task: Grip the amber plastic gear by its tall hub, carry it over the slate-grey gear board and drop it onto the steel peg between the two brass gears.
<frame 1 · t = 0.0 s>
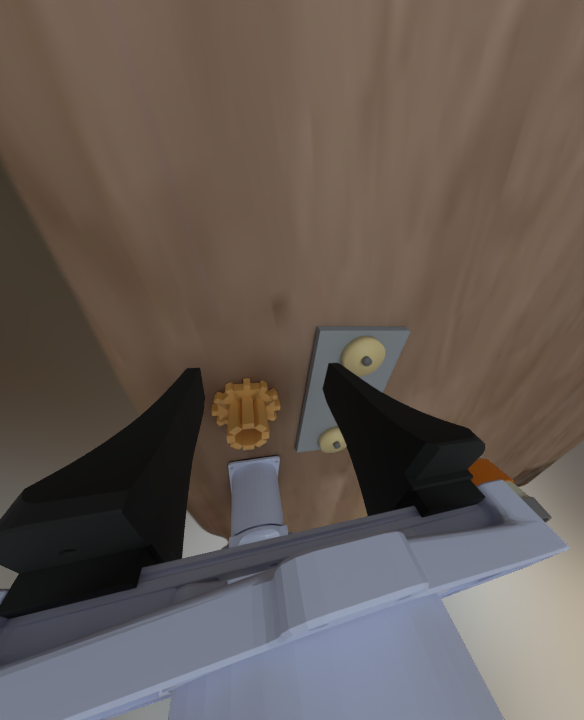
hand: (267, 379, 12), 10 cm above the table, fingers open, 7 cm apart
reusable coffee cup: (443, 451, 47), on the table
amber gear: (246, 403, 27), on the table
gear board: (341, 396, 29), on the table
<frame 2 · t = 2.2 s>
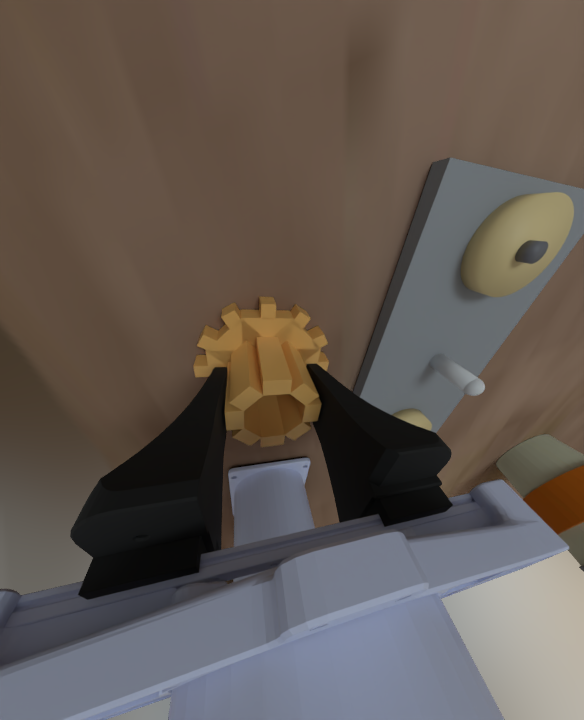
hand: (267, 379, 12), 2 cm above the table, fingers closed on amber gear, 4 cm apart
reusable coffee cup: (521, 450, 35), on the table
amber gear: (264, 358, 14), on the table, touching gripper
gear board: (427, 353, 17), on the table
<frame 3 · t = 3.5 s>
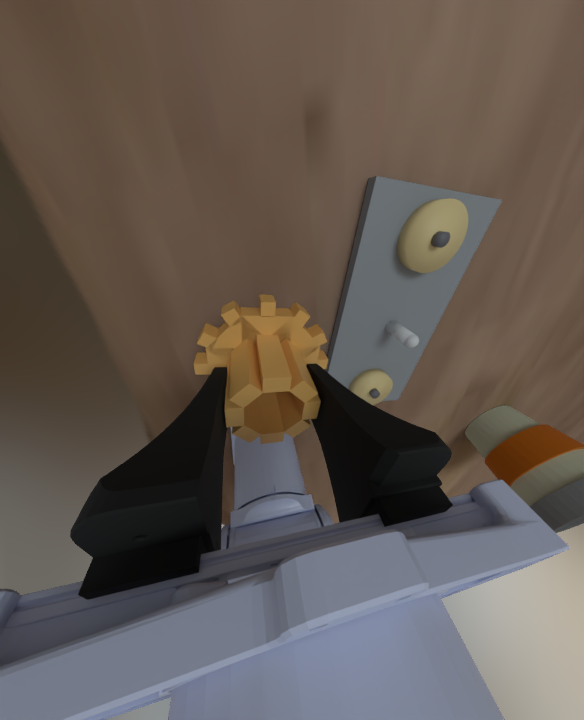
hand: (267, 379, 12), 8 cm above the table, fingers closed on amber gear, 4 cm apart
reusable coffee cup: (486, 421, 40), on the table
amber gear: (263, 356, 14), point 6 cm above the table, touching gripper
gear board: (385, 321, 22), on the table
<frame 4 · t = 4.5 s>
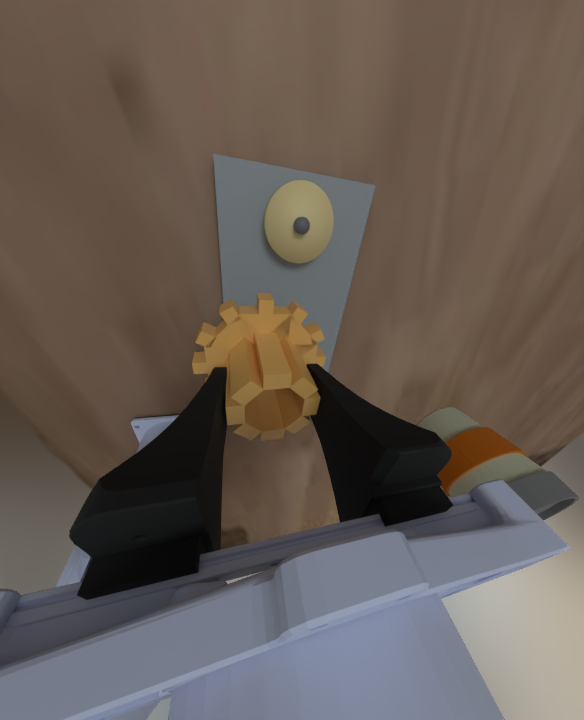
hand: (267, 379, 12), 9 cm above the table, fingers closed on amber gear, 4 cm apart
reusable coffee cup: (435, 423, 38), on the table
amber gear: (261, 354, 14), point 7 cm above the table, touching gripper
gear board: (284, 317, 20), on the table
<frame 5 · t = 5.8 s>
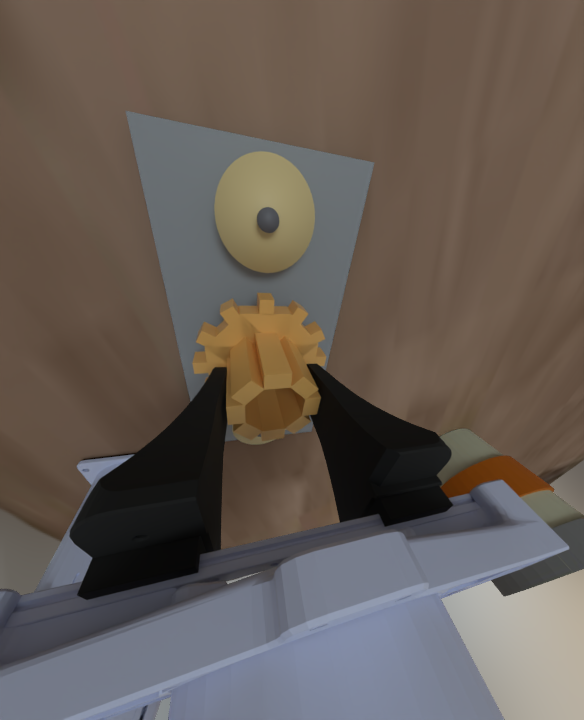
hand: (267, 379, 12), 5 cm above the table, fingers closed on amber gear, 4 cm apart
reusable coffee cup: (444, 445, 34), on the table
amber gear: (262, 354, 14), point 3 cm above the table, touching gripper
gear board: (260, 338, 16), on the table
when the fingers open (4 cm above the table, at t = 6.9 s): amber gear stays where it is, resting on gear board.
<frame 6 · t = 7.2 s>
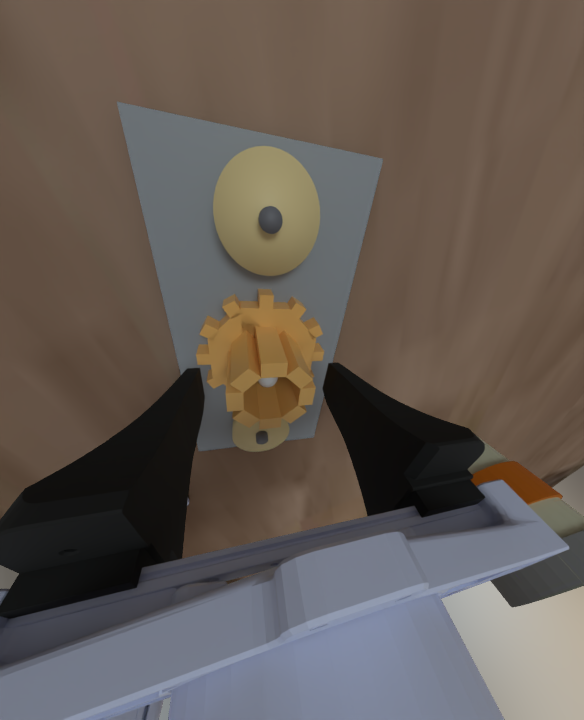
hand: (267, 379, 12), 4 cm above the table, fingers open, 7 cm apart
reusable coffee cup: (448, 450, 33), on the table
amber gear: (262, 348, 15), point 1 cm above the table, touching gear board
gear board: (261, 343, 15), on the table
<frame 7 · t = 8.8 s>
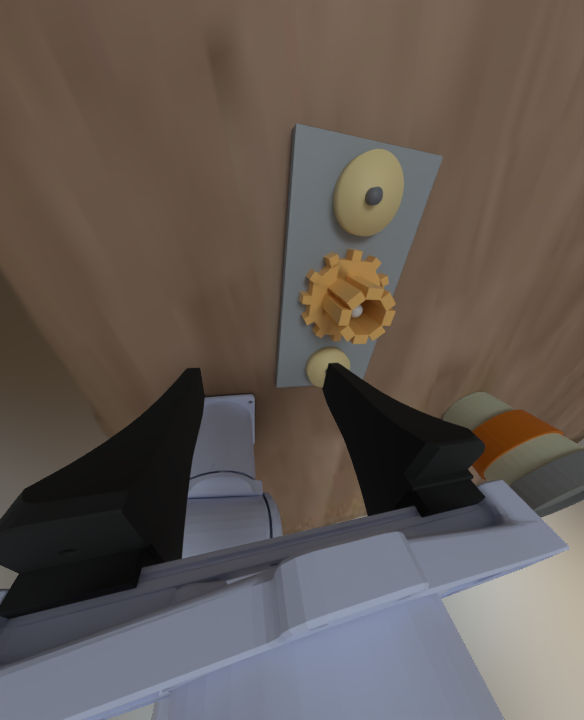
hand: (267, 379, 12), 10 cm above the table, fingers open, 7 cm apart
reusable coffee cup: (464, 409, 39), on the table
amber gear: (341, 297, 20), point 1 cm above the table, touching gear board
gear board: (336, 295, 21), on the table
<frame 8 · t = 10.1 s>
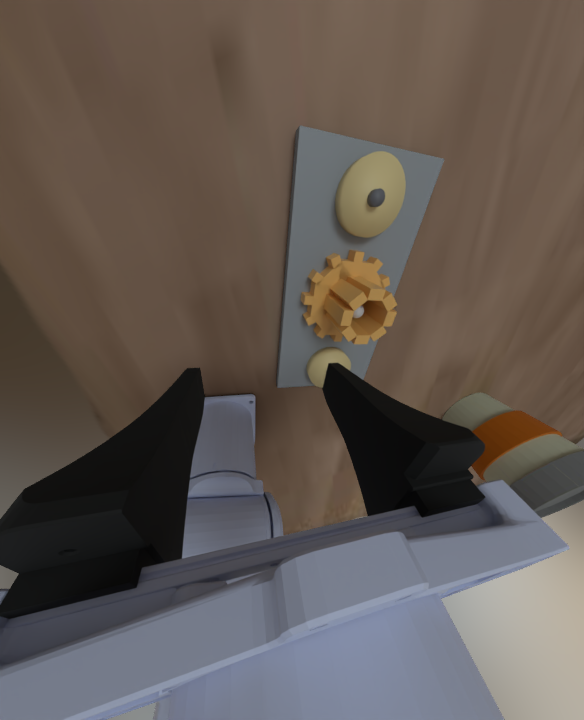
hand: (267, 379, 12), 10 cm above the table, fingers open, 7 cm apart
reusable coffee cup: (463, 410, 39), on the table
amber gear: (342, 297, 20), point 1 cm above the table, touching gear board
gear board: (337, 296, 21), on the table
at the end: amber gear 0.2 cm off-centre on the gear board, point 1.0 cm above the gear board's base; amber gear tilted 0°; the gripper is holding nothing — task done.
